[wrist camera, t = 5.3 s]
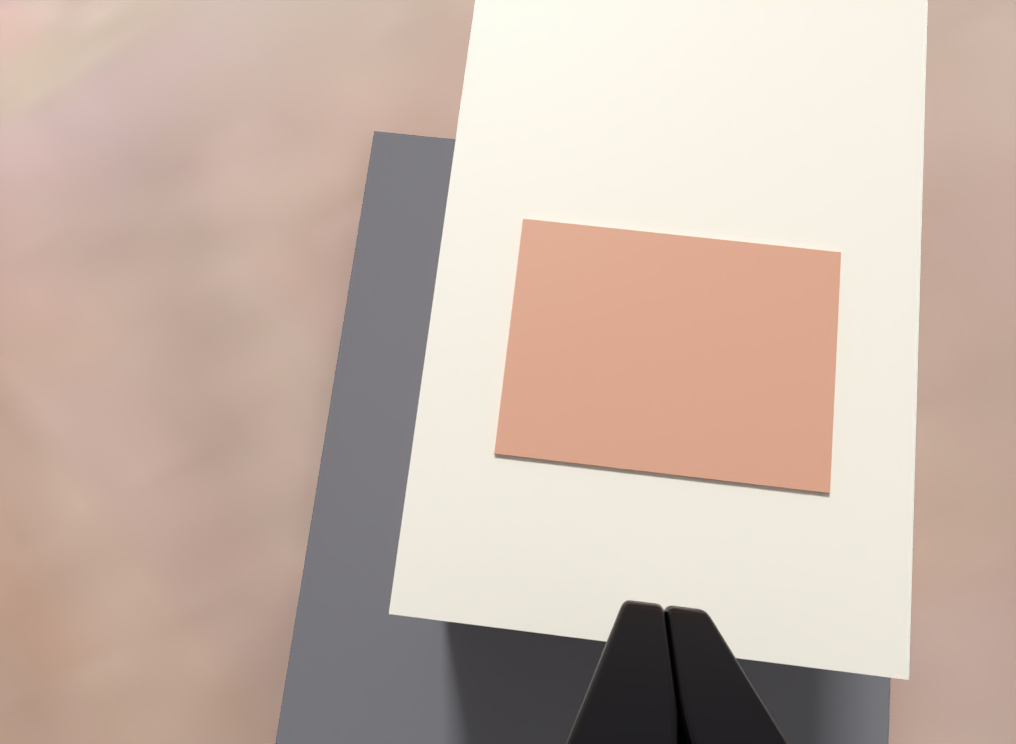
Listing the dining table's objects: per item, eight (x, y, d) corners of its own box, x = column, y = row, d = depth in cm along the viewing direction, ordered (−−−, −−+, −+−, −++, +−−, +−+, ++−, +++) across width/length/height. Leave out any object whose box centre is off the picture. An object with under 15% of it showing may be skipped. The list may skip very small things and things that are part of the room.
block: (911, 680, 9) (930, -25, 11) (387, 614, 10) (483, -66, 11) (760, 622, 15) (787, 170, 17) (440, 581, 16) (497, 141, 17)
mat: (860, 1262, 14) (871, 1284, 13) (214, 1161, 14) (204, 1180, 14) (896, 193, 17) (905, 185, 17) (377, 140, 18) (373, 131, 17)
